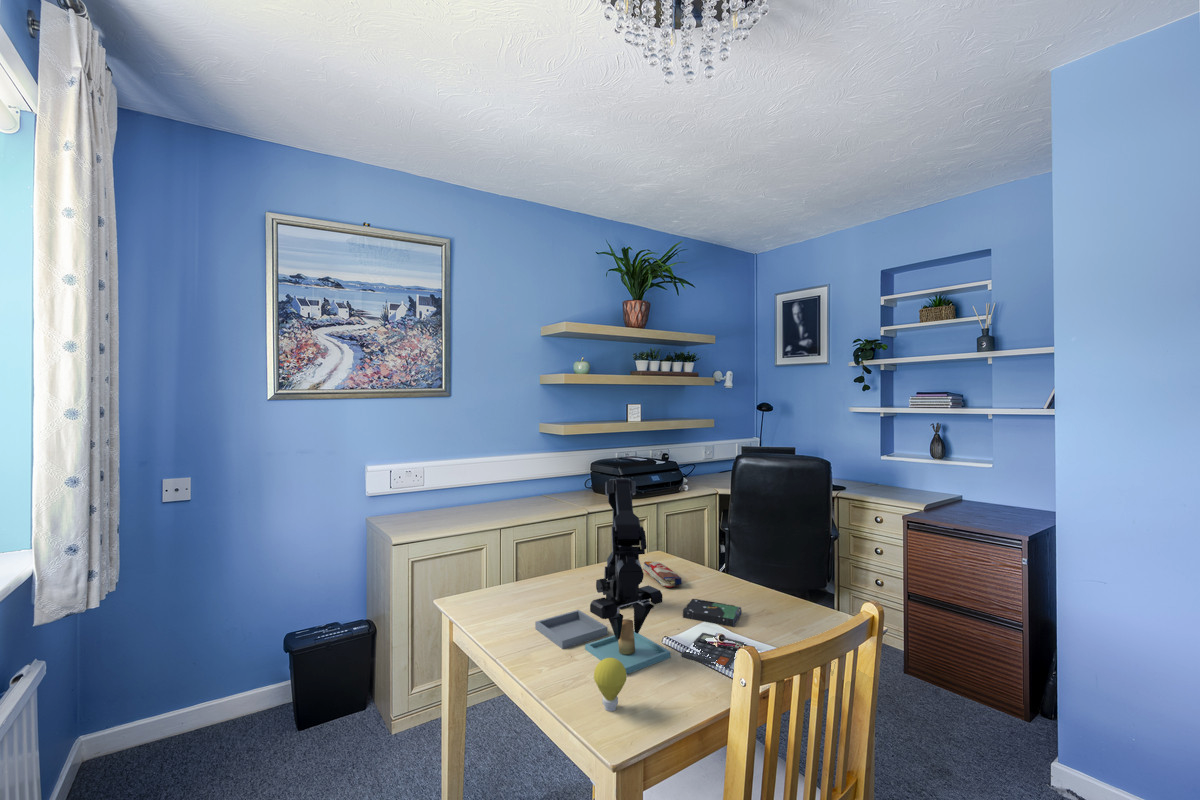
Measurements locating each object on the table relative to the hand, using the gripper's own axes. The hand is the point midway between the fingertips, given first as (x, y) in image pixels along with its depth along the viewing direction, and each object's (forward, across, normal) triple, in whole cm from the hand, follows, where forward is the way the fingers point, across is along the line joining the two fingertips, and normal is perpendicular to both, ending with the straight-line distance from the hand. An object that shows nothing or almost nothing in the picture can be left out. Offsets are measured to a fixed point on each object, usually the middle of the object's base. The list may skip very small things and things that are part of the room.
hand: (627, 635), depth 134 cm
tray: (+4, 0, 0) cm, 4 cm away
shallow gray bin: (+4, +5, -18) cm, 19 cm away
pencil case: (+5, -42, -35) cm, 55 cm away
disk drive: (+5, -34, -4) cm, 35 cm away
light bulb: (+5, +17, +16) cm, 24 cm away
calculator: (+5, -19, +11) cm, 23 cm away
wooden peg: (+4, 0, 0) cm, 4 cm away
